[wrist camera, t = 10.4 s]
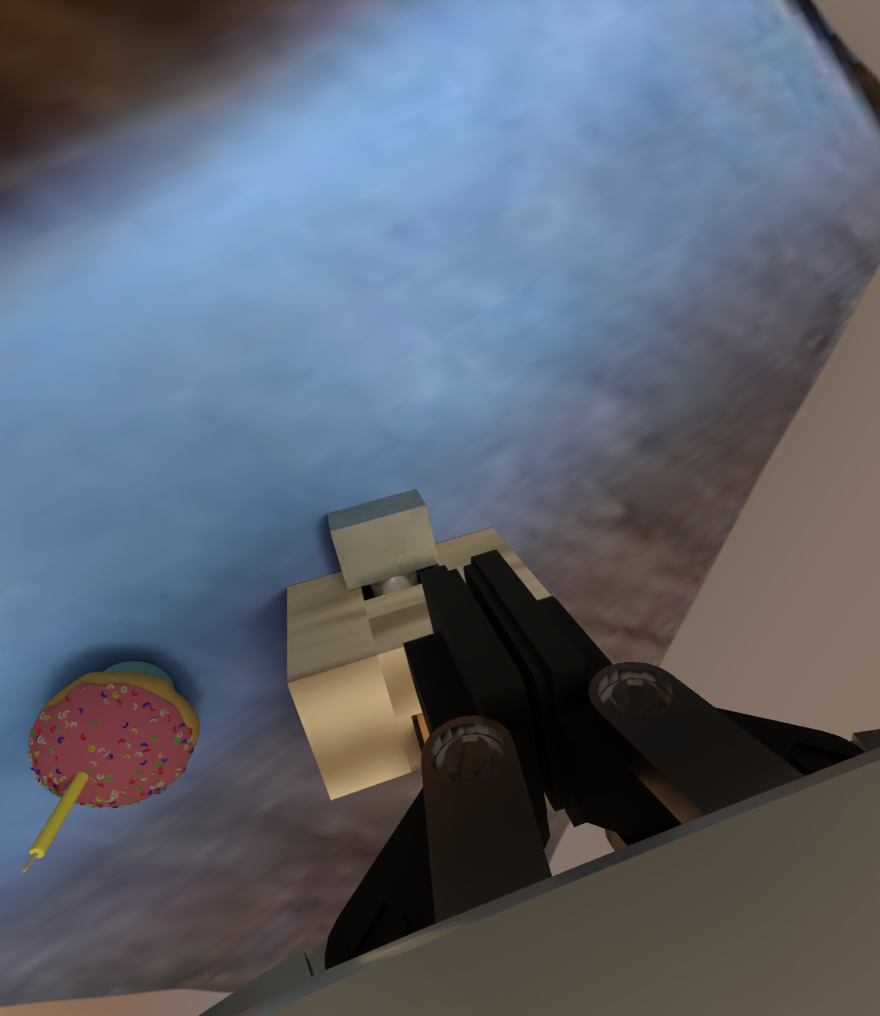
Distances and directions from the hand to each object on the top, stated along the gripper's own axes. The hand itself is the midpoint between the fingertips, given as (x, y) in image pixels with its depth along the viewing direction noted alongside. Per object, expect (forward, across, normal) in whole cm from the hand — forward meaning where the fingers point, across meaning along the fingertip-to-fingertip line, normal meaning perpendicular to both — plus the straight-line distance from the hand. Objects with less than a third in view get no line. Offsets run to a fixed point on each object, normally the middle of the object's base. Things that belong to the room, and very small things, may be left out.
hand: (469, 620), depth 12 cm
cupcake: (+24, +18, +14) cm, 34 cm away
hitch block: (+24, 0, +14) cm, 28 cm away
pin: (+24, 0, +16) cm, 29 cm away
